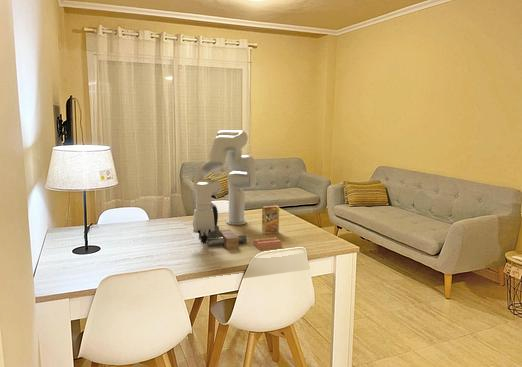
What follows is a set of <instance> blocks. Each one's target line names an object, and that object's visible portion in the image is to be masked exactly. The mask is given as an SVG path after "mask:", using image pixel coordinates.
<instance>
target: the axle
mask: <svg viewBox="0 0 522 367" xmlns="http://www.w3.org/2000/svg"><path fill="white" fill-rule="evenodd" d="M237 236H238V237H239V244H245V243H247V242H248V241H247V240H248V238H247V234H242V235H241V234H239V235H237ZM206 246H207V247H217V246H224V237H219V236H218V237H217V238H208V239H207V241H206Z"/></svg>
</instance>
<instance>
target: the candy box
mask: <svg viewBox="0 0 522 367" xmlns="http://www.w3.org/2000/svg"><path fill="white" fill-rule="evenodd" d="M261 210H262V211H261V212H262V214H261V216H262V218H261V233H262V234H264V235H266V234H278V233H279V232H280V231H279V230H280V206H279V205H277V204H275V205H262V208H261Z"/></svg>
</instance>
